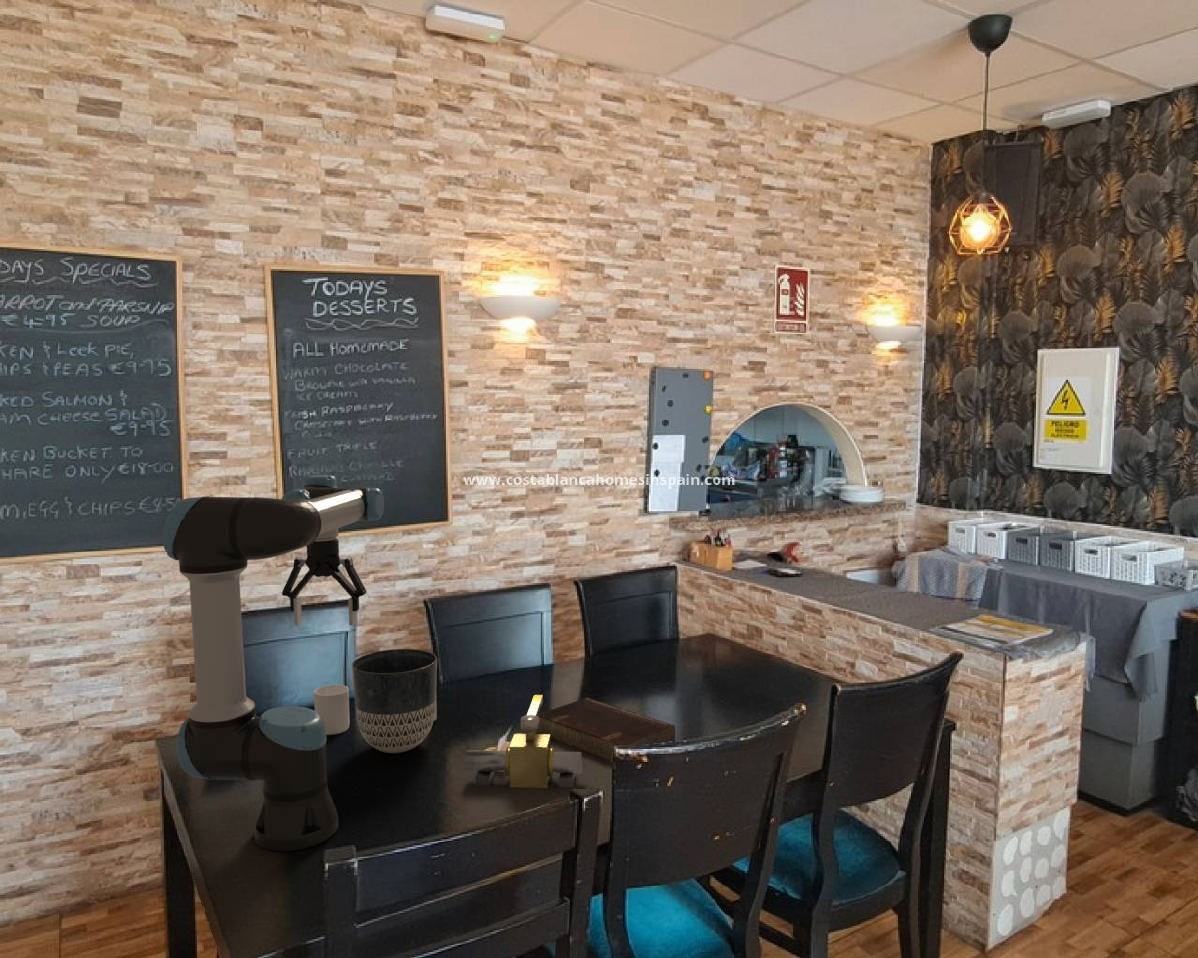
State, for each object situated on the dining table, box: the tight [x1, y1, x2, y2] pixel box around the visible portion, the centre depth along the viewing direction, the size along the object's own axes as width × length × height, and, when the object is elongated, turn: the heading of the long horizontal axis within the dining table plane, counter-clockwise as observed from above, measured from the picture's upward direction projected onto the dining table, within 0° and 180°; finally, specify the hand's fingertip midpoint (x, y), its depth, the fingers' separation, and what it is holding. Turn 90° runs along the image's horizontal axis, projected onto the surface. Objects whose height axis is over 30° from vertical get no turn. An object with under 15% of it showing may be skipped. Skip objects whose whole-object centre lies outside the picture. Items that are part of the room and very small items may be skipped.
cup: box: [313, 684, 350, 736], centre depth 218 cm, size 8×12×10 cm
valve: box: [464, 730, 583, 789], centre depth 187 cm, size 7×25×12 cm, turn 87°
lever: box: [520, 694, 544, 731], centre depth 193 cm, size 17×4×2 cm, turn 177°
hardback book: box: [535, 697, 676, 762], centre depth 211 cm, size 29×19×5 cm, turn 47°
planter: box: [351, 648, 438, 754], centre depth 204 cm, size 20×20×21 cm
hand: (325, 624), depth 212 cm, fingers open, 13 cm apart
